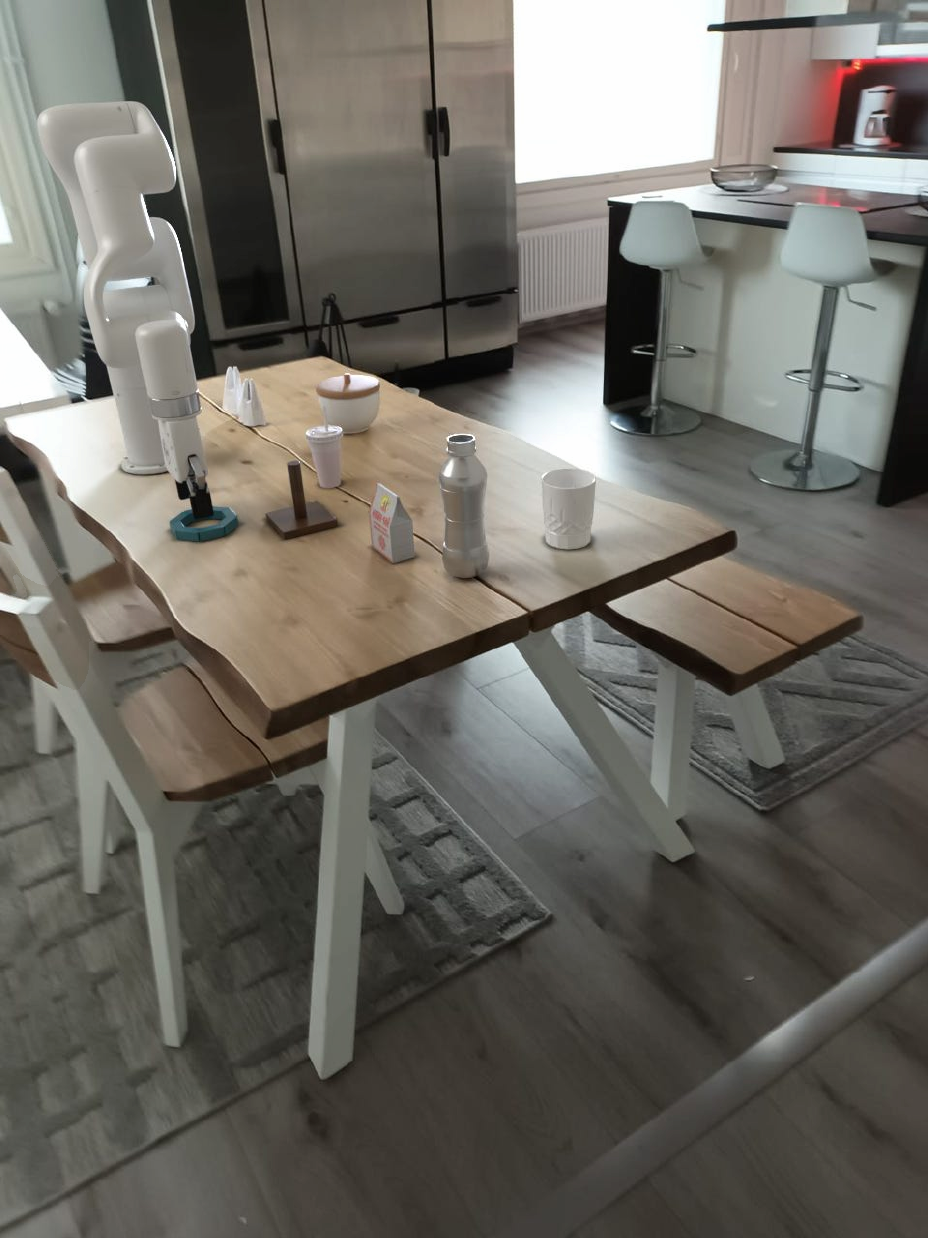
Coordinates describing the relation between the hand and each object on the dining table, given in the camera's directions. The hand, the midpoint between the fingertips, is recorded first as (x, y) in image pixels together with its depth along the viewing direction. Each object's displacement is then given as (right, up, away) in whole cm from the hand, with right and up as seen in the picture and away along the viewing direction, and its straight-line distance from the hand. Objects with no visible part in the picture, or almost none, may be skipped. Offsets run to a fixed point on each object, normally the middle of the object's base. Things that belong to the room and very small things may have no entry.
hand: (196, 507), depth 155 cm
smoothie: (+20, +5, +12) cm, 24 cm away
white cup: (+60, -7, -12) cm, 61 cm away
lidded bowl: (+21, +20, +38) cm, 48 cm away
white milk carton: (+33, -8, -12) cm, 36 cm away
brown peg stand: (+18, -3, -2) cm, 18 cm away
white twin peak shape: (-2, +23, +45) cm, 51 cm away
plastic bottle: (+44, -12, -19) cm, 50 cm away
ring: (+2, -4, -2) cm, 4 cm away
